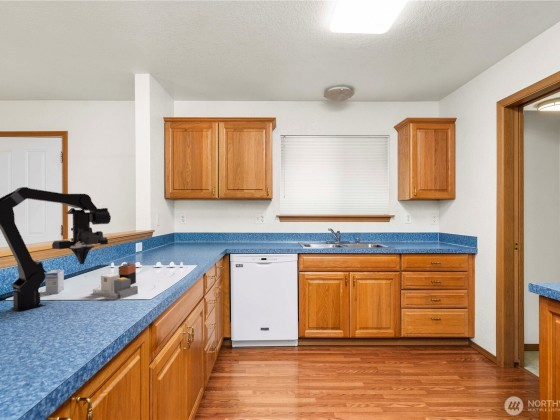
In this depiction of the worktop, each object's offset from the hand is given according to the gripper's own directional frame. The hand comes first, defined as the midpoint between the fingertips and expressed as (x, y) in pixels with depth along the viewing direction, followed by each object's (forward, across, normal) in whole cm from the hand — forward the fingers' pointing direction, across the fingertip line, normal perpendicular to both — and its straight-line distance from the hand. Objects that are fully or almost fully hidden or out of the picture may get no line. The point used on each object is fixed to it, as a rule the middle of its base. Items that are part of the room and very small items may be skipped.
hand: (82, 264), depth 125 cm
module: (+12, +6, -9) cm, 16 cm away
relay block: (+12, +6, -16) cm, 21 cm away
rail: (+12, +6, -12) cm, 18 cm away
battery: (+12, +18, -3) cm, 22 cm away
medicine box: (+13, -2, +16) cm, 21 cm away
